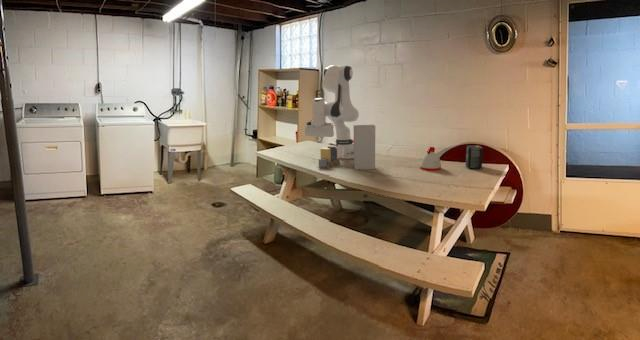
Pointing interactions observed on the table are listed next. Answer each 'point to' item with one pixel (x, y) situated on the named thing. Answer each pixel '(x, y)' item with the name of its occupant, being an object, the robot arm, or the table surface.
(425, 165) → the grey and red dome
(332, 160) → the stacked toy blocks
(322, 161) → the bookend
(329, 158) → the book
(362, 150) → the tall grey box
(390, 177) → the table surface
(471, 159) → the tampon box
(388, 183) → the table surface
